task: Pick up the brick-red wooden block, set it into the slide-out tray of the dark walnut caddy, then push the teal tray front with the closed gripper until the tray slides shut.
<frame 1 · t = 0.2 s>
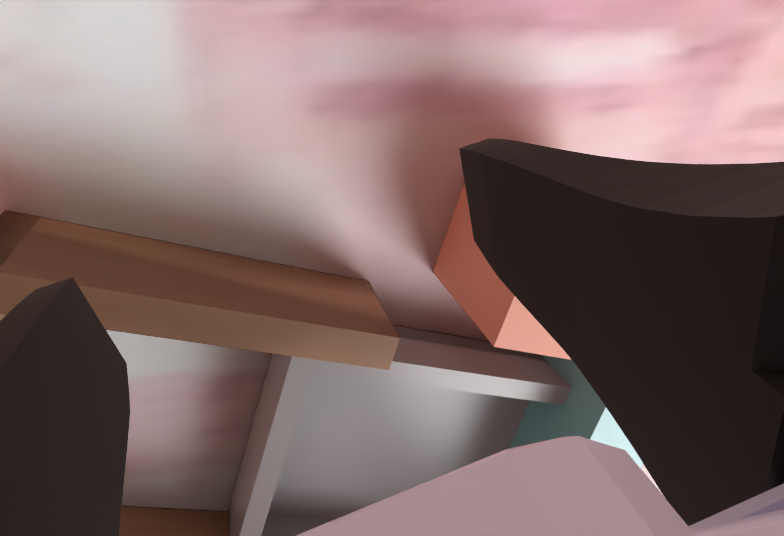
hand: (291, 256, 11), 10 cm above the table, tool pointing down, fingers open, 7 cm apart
brick-red block: (501, 231, 24), on the table
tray: (435, 469, 25), point 3 cm above the table, slide at 8.0 cm
caddy: (193, 404, 24), on the table
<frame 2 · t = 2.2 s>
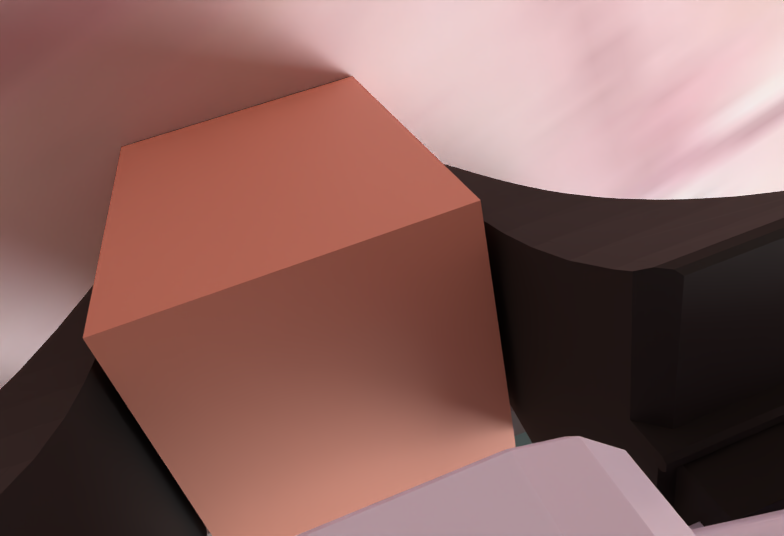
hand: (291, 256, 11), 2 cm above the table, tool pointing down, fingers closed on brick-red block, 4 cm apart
brick-red block: (276, 212, 13), on the table, touching gripper
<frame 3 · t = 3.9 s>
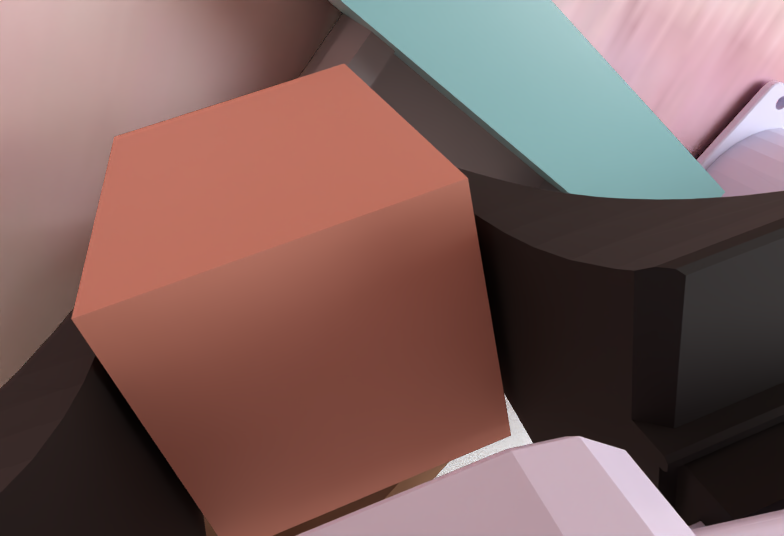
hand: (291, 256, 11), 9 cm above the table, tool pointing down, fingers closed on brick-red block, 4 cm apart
brick-red block: (271, 201, 13), point 7 cm above the table, touching gripper
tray: (404, 237, 19), point 3 cm above the table, slide at 8.0 cm
caddy: (230, 397, 23), on the table
when the fingers open (4 cm above the table, at t = 5.8 s): brick-red block drops 1 cm, resting on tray.
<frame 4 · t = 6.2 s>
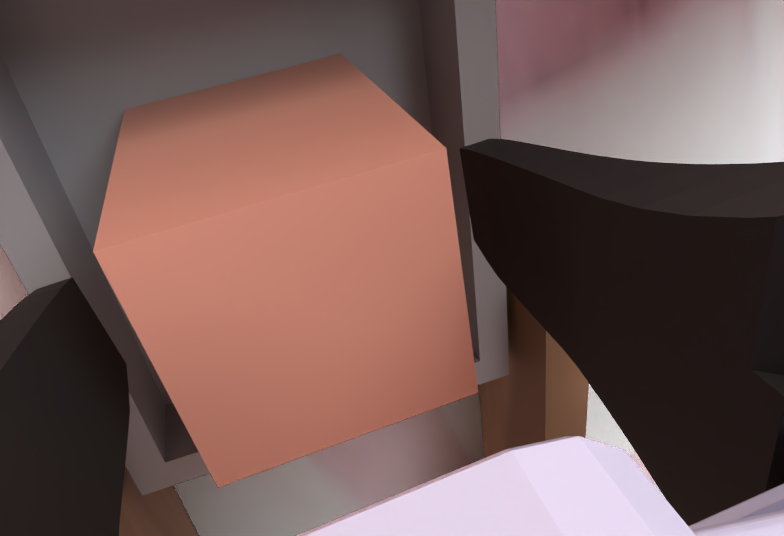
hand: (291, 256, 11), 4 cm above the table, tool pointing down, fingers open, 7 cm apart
brick-red block: (267, 179, 14), point 1 cm above the table, touching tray
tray: (264, 166, 12), point 3 cm above the table, slide at 8.0 cm, touching brick-red block
caddy: (327, 412, 19), on the table
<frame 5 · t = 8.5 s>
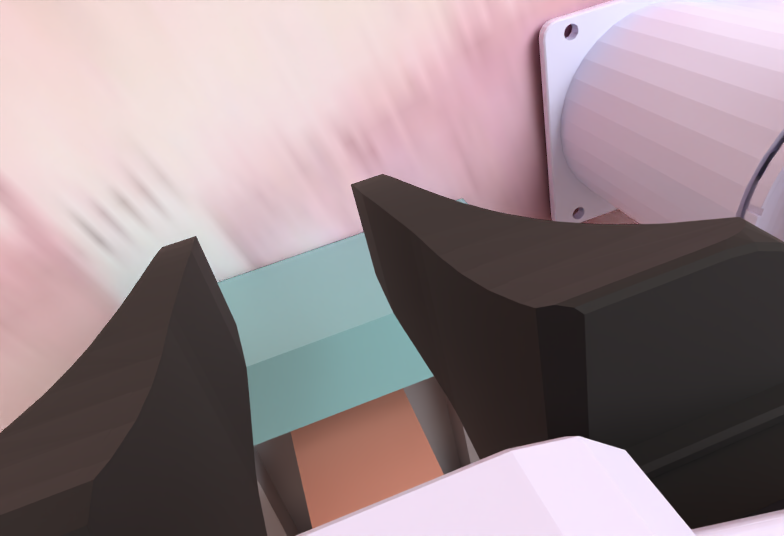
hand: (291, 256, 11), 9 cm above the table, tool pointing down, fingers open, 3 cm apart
brick-red block: (355, 425, 25), point 1 cm above the table, touching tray
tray: (359, 436, 24), point 3 cm above the table, slide at 8.0 cm, touching brick-red block
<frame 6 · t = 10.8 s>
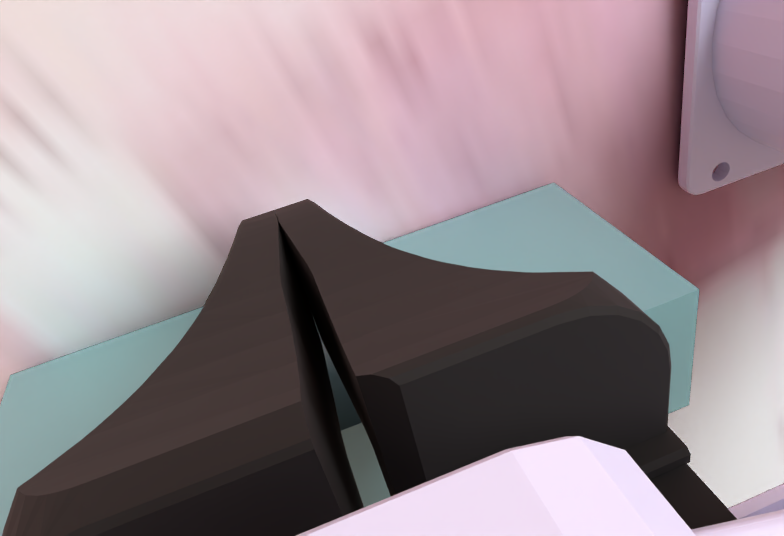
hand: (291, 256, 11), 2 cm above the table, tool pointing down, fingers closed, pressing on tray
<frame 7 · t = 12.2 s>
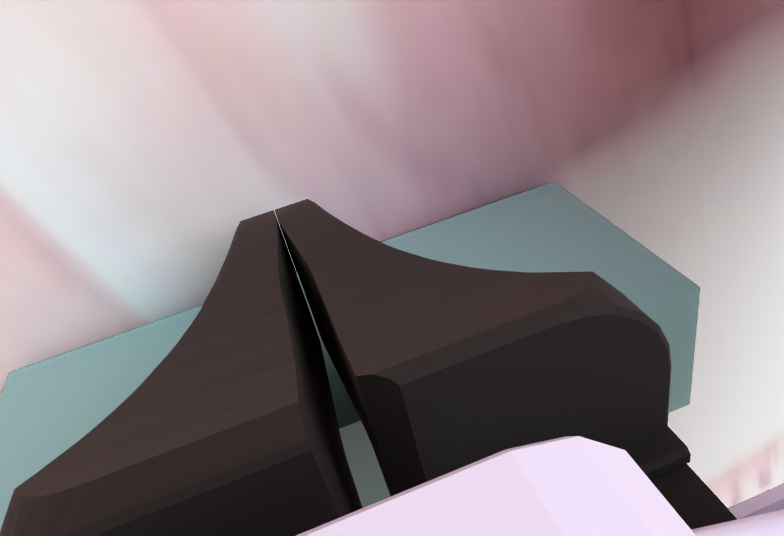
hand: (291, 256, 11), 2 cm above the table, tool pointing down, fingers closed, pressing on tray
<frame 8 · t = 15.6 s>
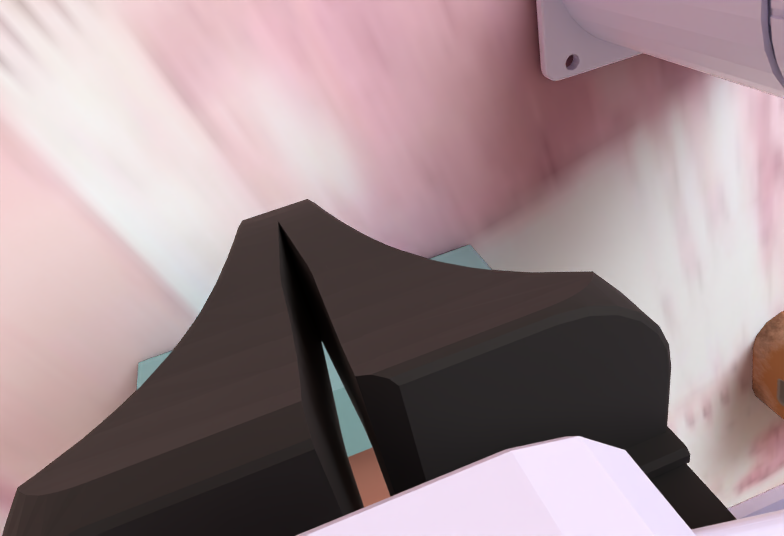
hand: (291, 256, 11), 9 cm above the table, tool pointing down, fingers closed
brick-red block: (366, 456, 27), point 1 cm above the table, touching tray
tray: (370, 470, 25), point 3 cm above the table, slide at 0.0 cm, touching brick-red block
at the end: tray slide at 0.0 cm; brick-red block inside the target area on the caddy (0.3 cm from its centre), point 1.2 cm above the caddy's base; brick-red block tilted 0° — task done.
